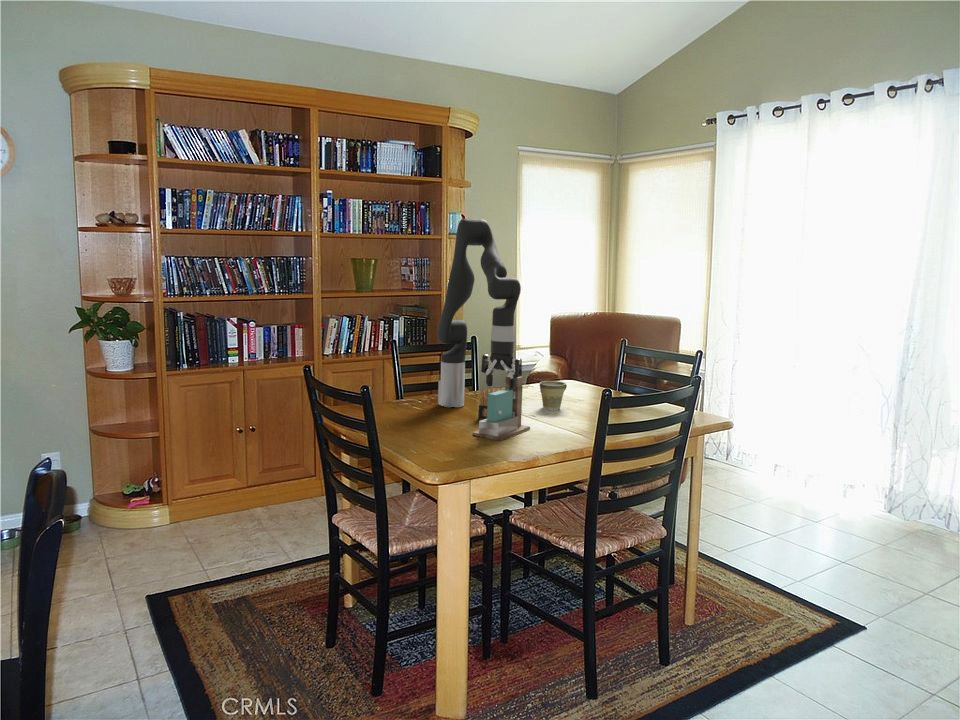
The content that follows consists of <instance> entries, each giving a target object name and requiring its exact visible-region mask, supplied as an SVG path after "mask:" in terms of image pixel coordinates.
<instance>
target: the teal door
mask: <svg viewBox="0 0 960 720" xmlns="http://www.w3.org/2000/svg"><path fill="white" fill-rule="evenodd" d="M512 406H513V390H509V389H505V388H504V389H502V390H500V389H499V390H498V391H496V392H495V391H493V393H490V392H488V405H487V422H492V423H497V422H500V421H503V420H506V419H509V418H511V417H512Z"/></svg>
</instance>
